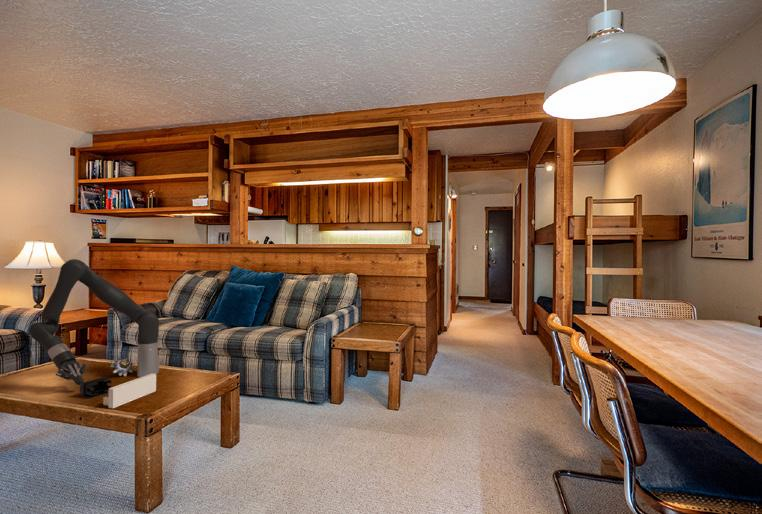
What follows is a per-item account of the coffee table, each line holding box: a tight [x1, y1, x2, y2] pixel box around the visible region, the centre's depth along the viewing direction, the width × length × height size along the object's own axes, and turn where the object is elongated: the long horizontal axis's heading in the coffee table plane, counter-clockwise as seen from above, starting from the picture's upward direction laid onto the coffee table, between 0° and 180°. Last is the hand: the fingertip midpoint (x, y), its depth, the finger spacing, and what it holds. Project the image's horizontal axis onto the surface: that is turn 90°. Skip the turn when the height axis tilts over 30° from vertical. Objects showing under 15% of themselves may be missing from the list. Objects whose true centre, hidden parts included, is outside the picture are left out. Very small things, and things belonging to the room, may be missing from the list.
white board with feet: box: [102, 374, 157, 409], centre depth 171 cm, size 22×7×8 cm, turn 166°
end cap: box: [79, 376, 113, 399], centre depth 176 cm, size 10×7×7 cm
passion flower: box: [108, 356, 136, 377], centre depth 205 cm, size 11×11×12 cm
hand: (81, 383), depth 178 cm, fingers closed
